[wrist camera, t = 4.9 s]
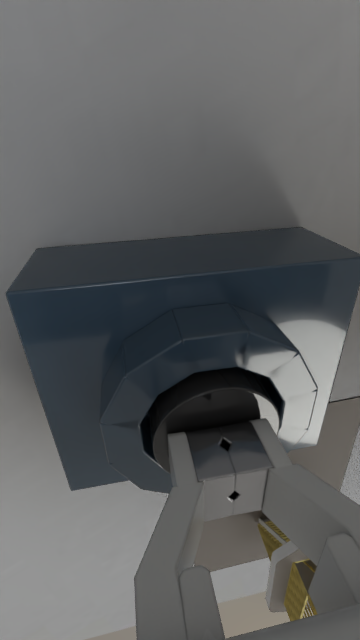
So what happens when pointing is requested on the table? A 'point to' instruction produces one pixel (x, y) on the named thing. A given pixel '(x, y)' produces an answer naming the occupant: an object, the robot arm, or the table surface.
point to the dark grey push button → (208, 406)
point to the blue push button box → (178, 336)
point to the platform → (266, 538)
